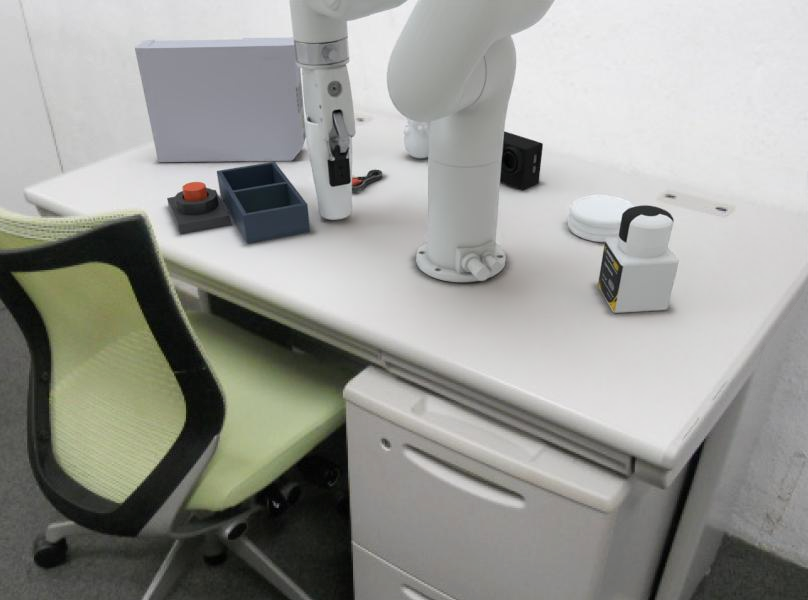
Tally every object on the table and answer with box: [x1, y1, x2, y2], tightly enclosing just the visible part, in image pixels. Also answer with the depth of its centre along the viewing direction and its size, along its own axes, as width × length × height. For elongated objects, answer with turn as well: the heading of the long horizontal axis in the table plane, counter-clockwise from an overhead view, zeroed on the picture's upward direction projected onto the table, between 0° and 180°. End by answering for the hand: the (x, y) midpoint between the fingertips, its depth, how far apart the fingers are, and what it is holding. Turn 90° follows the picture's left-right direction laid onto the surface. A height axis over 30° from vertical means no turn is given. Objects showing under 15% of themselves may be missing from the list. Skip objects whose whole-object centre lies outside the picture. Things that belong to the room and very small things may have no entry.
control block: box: [166, 187, 232, 235], centre depth 124 cm, size 11×8×4 cm
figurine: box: [402, 117, 431, 159], centre depth 139 cm, size 7×7×12 cm
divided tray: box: [216, 161, 311, 245], centre depth 123 cm, size 19×10×5 cm, turn 21°
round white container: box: [567, 194, 636, 243], centre depth 116 cm, size 10×10×4 cm
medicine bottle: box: [597, 204, 679, 314], centre depth 98 cm, size 7×7×12 cm
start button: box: [181, 181, 207, 201], centre depth 122 cm, size 4×4×2 cm
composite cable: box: [352, 169, 383, 193], centre depth 132 cm, size 10×5×2 cm, turn 130°
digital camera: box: [500, 130, 544, 191], centre depth 131 cm, size 10×5×7 cm, turn 42°
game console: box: [134, 36, 306, 163], centre depth 139 cm, size 6×27×20 cm, turn 88°
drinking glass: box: [304, 116, 353, 221], centre depth 118 cm, size 7×7×15 cm
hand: (332, 175), depth 119 cm, fingers closed on drinking glass, 6 cm apart
